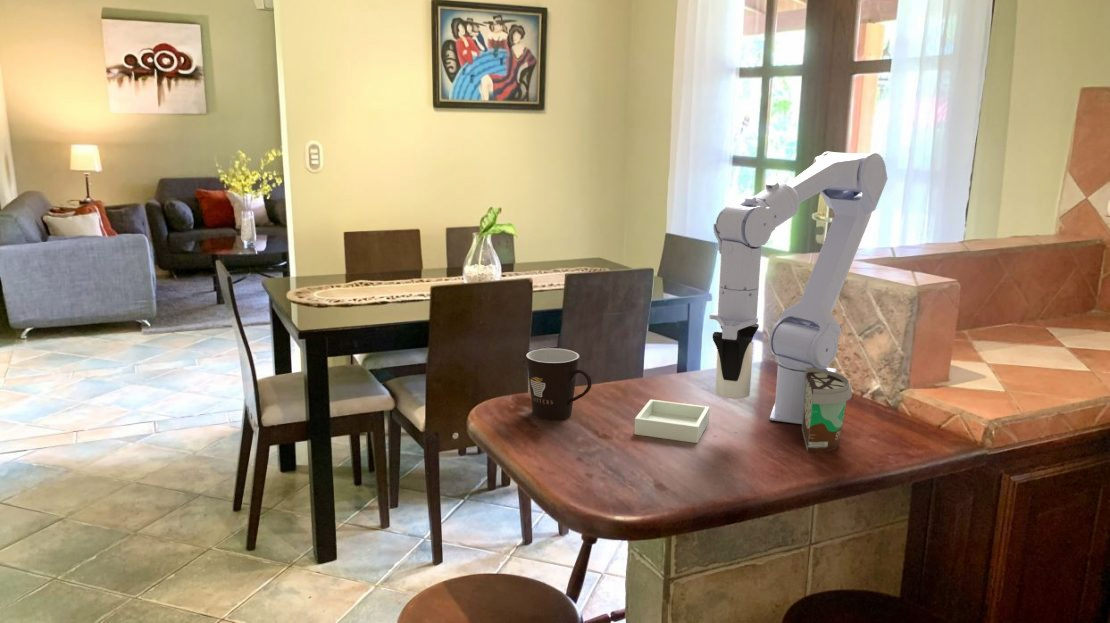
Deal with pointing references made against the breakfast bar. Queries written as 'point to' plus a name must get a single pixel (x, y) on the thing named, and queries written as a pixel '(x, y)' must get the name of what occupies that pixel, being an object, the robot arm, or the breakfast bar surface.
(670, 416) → the tray
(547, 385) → the coffee mug
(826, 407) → the food container
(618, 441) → the breakfast bar surface
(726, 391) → the cup
